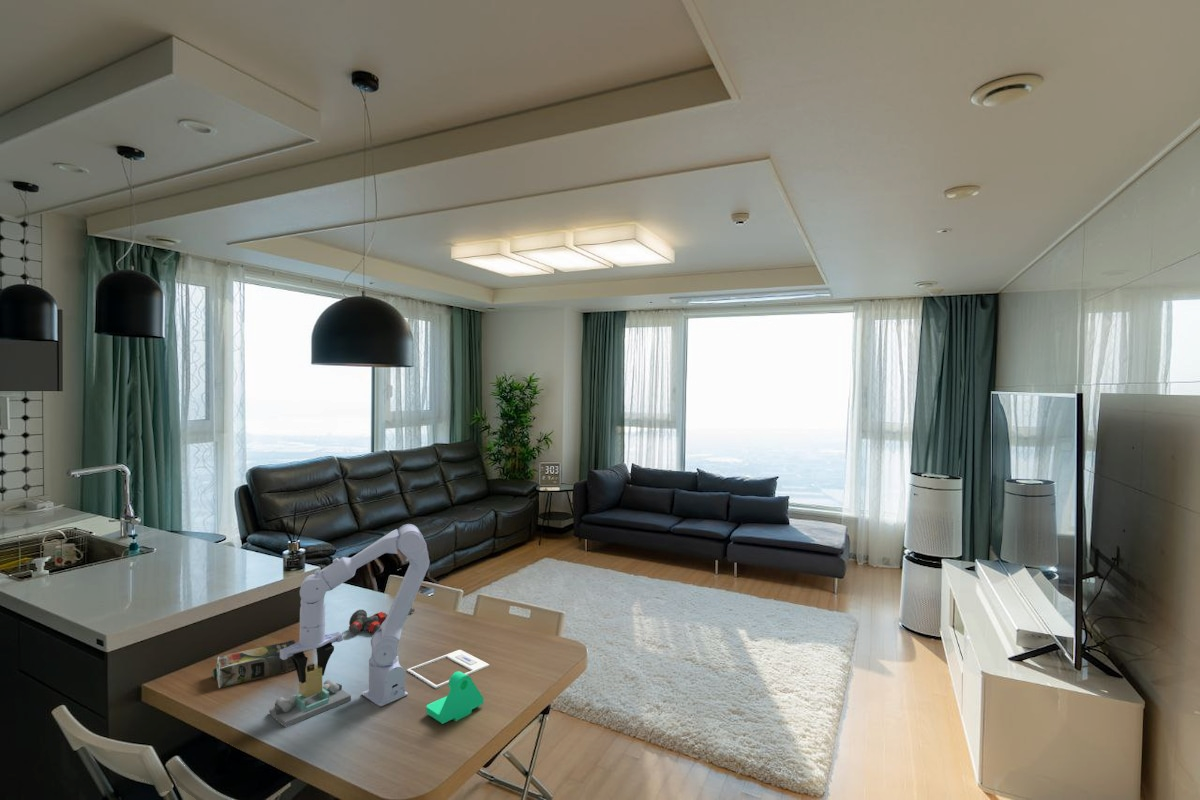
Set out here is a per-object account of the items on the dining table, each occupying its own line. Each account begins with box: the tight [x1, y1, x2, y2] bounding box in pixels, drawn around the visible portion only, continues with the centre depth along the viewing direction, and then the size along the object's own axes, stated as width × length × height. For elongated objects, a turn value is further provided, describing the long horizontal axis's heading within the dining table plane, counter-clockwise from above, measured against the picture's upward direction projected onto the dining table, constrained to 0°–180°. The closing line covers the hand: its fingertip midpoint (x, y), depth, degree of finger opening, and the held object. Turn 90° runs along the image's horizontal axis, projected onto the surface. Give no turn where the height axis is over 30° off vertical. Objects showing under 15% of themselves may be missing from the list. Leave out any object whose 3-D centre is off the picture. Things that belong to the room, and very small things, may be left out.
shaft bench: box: [268, 679, 352, 728], centre depth 143 cm, size 9×16×4 cm, turn 141°
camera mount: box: [425, 670, 484, 725], centre depth 142 cm, size 12×8×10 cm, turn 139°
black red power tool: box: [348, 607, 415, 636], centre depth 195 cm, size 6×26×15 cm
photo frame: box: [406, 649, 490, 689], centre depth 165 cm, size 15×1×18 cm
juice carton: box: [212, 639, 296, 689], centre depth 160 cm, size 20×10×6 cm, turn 127°
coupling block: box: [298, 663, 323, 698], centre depth 143 cm, size 4×4×7 cm
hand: (311, 678), depth 143 cm, fingers closed on coupling block, 4 cm apart
